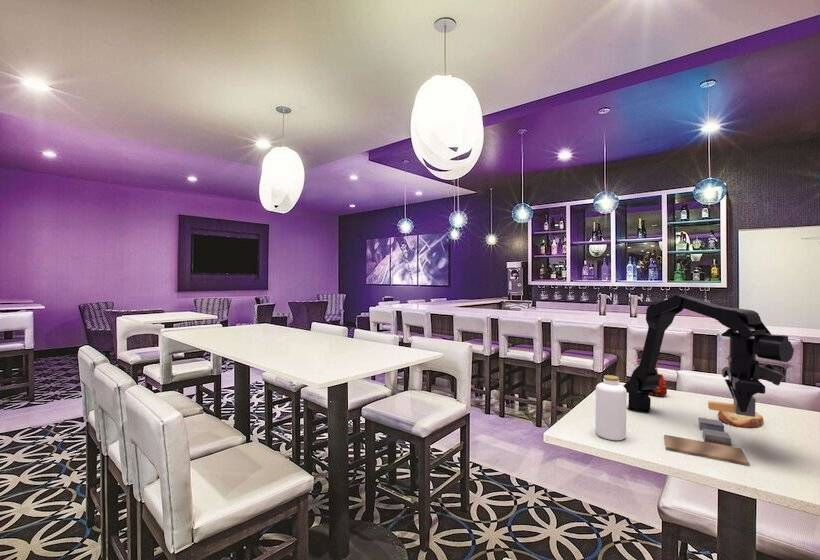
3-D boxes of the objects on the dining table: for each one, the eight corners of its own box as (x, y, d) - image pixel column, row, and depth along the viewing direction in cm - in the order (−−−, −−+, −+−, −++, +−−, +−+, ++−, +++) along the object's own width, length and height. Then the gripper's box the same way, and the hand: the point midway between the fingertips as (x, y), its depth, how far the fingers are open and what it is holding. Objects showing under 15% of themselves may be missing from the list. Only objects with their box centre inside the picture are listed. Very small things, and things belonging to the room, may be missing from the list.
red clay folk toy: (643, 395, 161) (644, 358, 161) (647, 391, 166) (647, 355, 166) (665, 398, 156) (666, 361, 156) (668, 394, 161) (669, 358, 161)
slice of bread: (736, 409, 145) (737, 399, 145) (787, 428, 128) (787, 416, 127) (691, 410, 144) (691, 400, 144) (736, 429, 126) (736, 418, 126)
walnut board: (665, 449, 110) (665, 446, 110) (664, 437, 119) (664, 434, 119) (749, 466, 101) (749, 463, 101) (741, 451, 110) (741, 448, 110)
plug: (709, 410, 114) (710, 393, 113) (707, 406, 117) (707, 389, 117) (755, 417, 109) (755, 398, 109) (751, 412, 112) (751, 395, 112)
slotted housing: (704, 442, 115) (704, 434, 115) (698, 424, 129) (698, 417, 129) (730, 447, 112) (731, 438, 112) (721, 428, 126) (721, 420, 126)
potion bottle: (614, 443, 114) (615, 381, 114) (589, 433, 121) (590, 375, 121) (632, 438, 118) (633, 378, 118) (607, 428, 125) (607, 372, 125)
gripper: (792, 364, 99) (791, 426, 100) (770, 351, 116) (768, 404, 116) (736, 359, 105) (734, 417, 105) (722, 348, 121) (721, 398, 121)
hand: (741, 409), depth 112 cm, fingers closed on plug, 4 cm apart
